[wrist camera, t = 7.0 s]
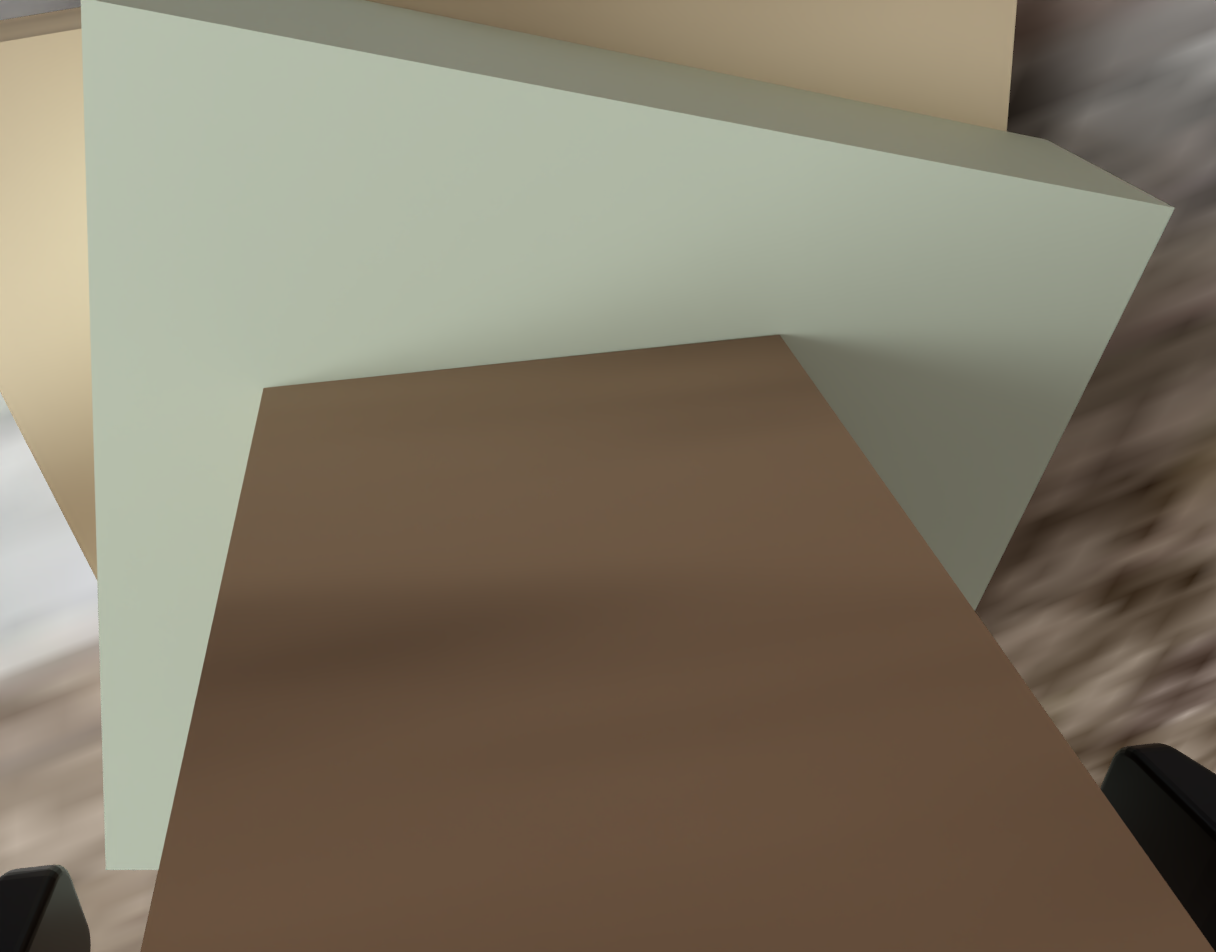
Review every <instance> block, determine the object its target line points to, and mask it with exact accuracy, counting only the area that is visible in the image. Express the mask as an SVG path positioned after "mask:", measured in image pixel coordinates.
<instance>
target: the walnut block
mask: <svg viewBox="0 0 1216 952" xmlns="http://www.w3.org/2000/svg"><path fill="white" fill-rule="evenodd" d="M141 952H1215V951H1214V949H1213V948H1212V947H1211V945H1210V944H1209V942H1208V941H1207V939H1206V938H1205V937H1204V935H1203V934H1202V932H1201V931H1200V930H1199V928H1198V927H1197V925H1196V924H1195V922H1194V921H1193V920H1192V918H1191V917H1190V915H1189V914H1188V913H1187V911H1186V910H1185V908H1184V907H1183V905H1182V904H1181V903H1180V901H1179V900H1178V898H1177V897H1176V896H1175V894H1174V893H1173V891H1172V890H1171V888H1170V887H1169V886H1168V884H1167V883H1166V881H1165V880H1164V879H1163V877H1162V876H1161V874H1160V873H1159V871H1158V870H1157V869H1156V867H1155V866H1154V864H1153V863H1152V862H1151V860H1150V859H1149V857H1148V856H1147V854H1146V853H1145V852H1144V850H1143V849H1142V847H1141V846H1140V845H1139V843H1138V842H1137V840H1136V839H1135V837H1134V836H1133V835H1132V833H1131V832H1130V830H1129V829H1128V828H1127V826H1126V825H1125V823H1124V822H1123V820H1122V819H1121V818H1120V816H1119V815H1118V813H1117V812H1116V811H1115V809H1114V808H1113V806H1112V805H1111V803H1110V802H1109V801H1108V799H1107V798H1106V796H1105V795H1104V794H1103V792H1102V791H1101V789H1100V788H1099V786H1098V785H1097V784H1096V782H1095V781H1094V779H1093V778H1092V777H1091V775H1090V774H1089V772H1088V771H1087V769H1086V768H1085V767H1084V765H1083V764H1082V762H1081V761H1080V760H1079V758H1078V757H1077V755H1076V754H1075V752H1074V751H1073V750H1072V748H1071V747H1070V745H1069V744H1068V743H1067V741H1066V740H1065V738H1064V737H1063V735H1062V734H1061V733H1060V731H1059V730H1058V728H1057V727H1056V726H1055V724H1054V723H1053V721H1052V720H1051V718H1050V717H1049V716H1048V714H1047V713H1046V711H1045V710H1044V709H1043V707H1042V706H1041V704H1040V703H1039V701H1038V700H1037V699H1036V697H1035V696H1034V694H1033V693H1032V692H1031V690H1030V689H1029V687H1028V686H1027V684H1026V683H1025V682H1024V680H1023V679H1022V677H1021V676H1020V674H1019V673H1018V672H1017V670H1016V669H1015V667H1014V666H1013V665H1012V663H1011V662H1010V660H1009V659H1008V657H1007V656H1006V655H1005V653H1004V652H1003V650H1002V649H1001V648H1000V646H999V645H998V643H997V642H996V640H995V639H994V638H993V636H992V635H991V633H990V632H989V631H988V629H987V628H986V626H985V625H984V623H983V622H982V621H981V619H980V618H979V616H978V615H977V614H976V612H975V611H974V609H973V608H972V606H971V605H970V604H969V602H968V601H967V599H966V598H965V597H964V595H963V594H962V592H961V591H960V589H959V588H958V587H957V585H956V584H955V582H954V581H953V580H952V578H951V577H950V575H949V574H948V572H947V571H946V570H945V568H944V567H943V565H942V564H941V563H940V561H939V560H938V558H937V557H936V555H935V554H934V553H933V551H932V550H931V548H930V547H929V546H928V544H927V543H926V541H925V540H924V538H923V537H922V536H921V534H920V533H919V531H918V530H917V529H916V527H915V526H914V524H913V523H912V521H911V520H910V519H909V517H908V516H907V514H906V513H905V512H904V510H903V509H902V507H901V506H900V504H899V503H898V502H897V500H896V499H895V497H894V496H893V495H892V493H891V492H890V490H889V489H888V487H887V486H886V485H885V483H884V482H883V480H882V479H881V478H880V476H879V475H878V473H877V472H876V470H875V469H874V468H873V466H872V465H871V463H870V462H869V461H868V459H867V458H866V456H865V455H864V453H863V452H862V451H861V449H860V448H859V446H858V445H857V444H856V442H855V441H854V439H853V438H852V436H851V435H850V434H849V432H848V431H847V429H846V428H845V427H844V425H843V424H842V422H841V421H840V419H839V418H838V417H837V415H836V414H835V412H834V411H833V410H832V408H831V407H830V405H829V404H828V402H827V401H826V400H825V398H824V397H823V395H822V394H821V393H820V391H819V390H818V388H817V387H816V385H815V384H814V383H813V381H812V380H811V378H810V377H809V375H808V374H807V373H806V371H805V370H804V368H803V367H802V366H801V364H800V363H799V361H798V360H797V358H796V357H795V356H794V354H793V353H792V351H791V350H790V349H789V347H788V346H787V344H786V343H785V341H784V340H783V339H782V337H781V336H780V335H771V336H762V337H752V338H742V339H732V340H723V341H713V342H703V343H694V344H684V345H674V346H665V347H655V348H645V349H636V350H626V351H616V352H607V353H597V354H587V355H578V356H568V357H558V358H549V359H539V360H529V361H520V362H510V363H500V364H491V365H481V366H471V367H462V368H452V369H442V370H432V371H423V372H413V373H403V374H394V375H384V376H374V377H365V378H355V379H345V380H336V381H326V382H316V383H307V384H297V385H287V386H278V387H268V388H263V393H262V397H261V402H260V406H259V411H258V415H257V420H256V425H255V429H254V434H253V438H252V443H251V448H250V452H249V457H248V461H247V466H246V470H245V475H244V480H243V484H242V489H241V493H240V498H239V503H238V507H237V512H236V516H235V521H234V525H233V530H232V535H231V539H230V544H229V548H228V553H227V558H226V562H225V567H224V571H223V576H222V581H221V585H220V590H219V594H218V599H217V603H216V608H215V613H214V617H213V622H212V626H211V631H210V636H209V640H208V645H207V649H206V654H205V658H204V663H203V668H202V672H201V677H200V681H199V686H198V691H197V695H196V700H195V704H194V709H193V713H192V718H191V723H190V727H189V732H188V736H187V741H186V746H185V750H184V755H183V759H182V764H181V769H180V773H179V778H178V782H177V787H176V791H175V796H174V801H173V805H172V810H171V814H170V819H169V824H168V828H167V833H166V837H165V842H164V846H163V851H162V856H161V860H160V865H159V869H158V874H157V879H156V883H155V888H154V892H153V897H152V901H151V906H150V911H149V915H148V920H147V924H146V929H145V934H144V938H143V943H142V947H141Z"/></svg>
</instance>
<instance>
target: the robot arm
mask: <svg viewBox="0 0 1216 952" xmlns="http://www.w3.org/2000/svg"><path fill="white" fill-rule="evenodd" d="M1100 789H1101V791H1102V792H1103V794H1104V795H1105V796H1106V798H1107V799H1108V801H1109V802H1110V803H1111V805H1112V806H1113V808H1114V809H1115V811H1116V812H1117V813H1118V815H1119V816H1120V818H1121V819H1122V820H1123V822H1124V823H1125V825H1126V826H1127V828H1128V829H1129V830H1130V832H1131V833H1132V835H1133V836H1134V837H1135V839H1136V840H1137V842H1138V843H1139V845H1140V846H1141V847H1142V849H1143V850H1144V852H1145V853H1146V854H1147V856H1148V857H1149V859H1150V860H1151V862H1152V863H1153V864H1154V866H1155V867H1156V869H1157V870H1158V871H1159V873H1160V874H1161V876H1162V877H1163V879H1164V880H1165V881H1166V883H1167V884H1168V886H1169V887H1170V888H1171V890H1172V891H1173V893H1174V894H1175V896H1176V897H1177V898H1178V900H1179V901H1180V903H1181V904H1182V905H1183V907H1184V908H1185V910H1186V911H1187V913H1188V914H1189V915H1190V917H1191V918H1192V920H1193V921H1194V922H1195V924H1196V925H1197V927H1198V928H1199V930H1200V931H1201V932H1202V934H1203V935H1204V937H1205V938H1206V939H1207V941H1208V942H1209V944H1210V945H1211V947H1212V948H1213V949H1214V951H1215V952H1216V774H1215V773H1213V772H1212V771H1210V770H1208V769H1207V768H1205V767H1204V766H1202V765H1200V764H1199V763H1197V762H1196V761H1194V760H1192V759H1191V758H1189V757H1188V756H1186V755H1184V754H1183V753H1181V752H1180V751H1178V750H1176V749H1174V748H1173V747H1171V746H1168V745H1166V744H1160V743H1153V744H1144V745H1135V746H1127V747H1123V748H1121V749H1120V750H1119V751H1117V753H1116V754H1115V756H1114V757H1113V759H1112V762H1111V764H1110V766H1109V769H1108V771H1107V774H1106V776H1105V778H1104V781H1103V783H1102V785H1101V788H1100ZM90 946H91V945H90V933H89V928H88V924H87V921H86V919H85V916H84V913H83V910H82V908H81V905H80V902H79V899H78V896H77V894H76V891H75V888H74V885H73V882H72V880H71V877H70V875H69V873H68V871H67V870H66V869H65V868H64V867H62V866H60V865H47V866H38V867H29V868H20V869H15V870H11V871H9V872H7V873H5V874H4V875H2V876H1V877H0V952H90Z"/></svg>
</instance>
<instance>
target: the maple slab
mask: <svg viewBox="0 0 1216 952" xmlns="http://www.w3.org/2000/svg"><path fill="white" fill-rule="evenodd" d="M366 1H371V2H376V3H381V4H386V5H391V6H396V7H401V8H405V9H410V10H415V11H420V12H425V13H430V14H435V15H440V16H445V17H449V18H454V19H459V20H464V21H469V22H474V23H479V24H484V25H489V26H493V27H498V28H503V29H508V30H513V31H518V32H523V33H528V34H533V35H537V36H542V37H547V38H552V39H557V40H562V41H567V42H572V43H577V44H581V45H586V46H591V47H596V48H601V49H606V50H611V51H616V52H621V53H626V54H630V55H635V56H640V57H645V58H650V59H655V60H660V61H665V62H670V63H674V64H679V65H684V66H689V67H694V68H699V69H704V70H709V71H714V72H718V73H723V74H728V75H733V76H738V77H743V78H748V79H753V80H757V81H762V82H767V83H772V84H777V85H782V86H787V87H792V88H797V89H801V90H806V91H811V92H816V93H821V94H826V95H831V96H836V97H840V98H845V99H850V100H855V101H860V102H865V103H870V104H875V105H879V106H884V107H889V108H894V109H899V110H904V111H909V112H914V113H919V114H923V115H928V116H933V117H938V118H943V119H948V120H953V121H958V122H962V123H967V124H972V125H977V126H982V127H987V128H992V129H997V130H1001V131H1006V132H1007V121H1008V108H1009V95H1010V83H1011V70H1012V58H1013V45H1014V32H1015V20H1016V7H1017V0H366ZM0 392H1V394H2V396H3V398H4V400H5V402H6V404H7V406H8V408H9V410H10V412H11V413H12V415H13V417H14V419H15V421H16V423H17V425H18V427H19V429H20V431H21V433H22V435H23V437H24V439H25V441H26V443H27V445H28V447H29V449H30V450H31V452H32V454H33V456H34V458H35V460H36V462H37V464H38V466H39V468H40V470H41V472H42V474H43V476H44V478H45V480H46V482H47V484H48V485H49V487H50V489H51V491H52V493H53V495H54V497H55V499H56V501H57V503H58V505H59V507H60V509H61V511H62V513H63V515H64V517H65V519H66V521H67V522H68V524H69V526H70V528H71V530H72V532H73V534H74V536H75V538H76V540H77V542H78V544H79V546H80V548H81V550H82V552H83V554H84V556H85V557H86V559H87V561H88V563H89V565H90V567H91V569H92V571H93V573H94V575H95V577H96V579H97V547H96V512H95V477H94V443H93V408H92V373H91V339H90V304H89V269H88V235H87V200H86V166H85V131H84V96H83V62H82V27H81V7H78V8H72V9H66V10H60V11H54V12H48V13H42V14H36V15H30V16H24V17H18V18H12V19H6V20H0Z"/></svg>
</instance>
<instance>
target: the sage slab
mask: <svg viewBox="0 0 1216 952" xmlns="http://www.w3.org/2000/svg"><path fill="white" fill-rule="evenodd" d="M81 27H82V62H83V96H84V131H85V166H86V200H87V235H88V269H89V304H90V339H91V373H92V408H93V443H94V477H95V512H96V547H97V581H98V616H99V651H100V685H101V720H102V755H103V789H104V824H105V859H106V870H158V869H159V865H160V860H161V856H162V851H163V846H164V842H165V837H166V833H167V828H168V824H169V819H170V814H171V810H172V805H173V801H174V796H175V791H176V787H177V782H178V778H179V773H180V769H181V764H182V759H183V755H184V750H185V746H186V741H187V736H188V732H189V727H190V723H191V718H192V713H193V709H194V704H195V700H196V695H197V691H198V686H199V681H200V677H201V672H202V668H203V663H204V658H205V654H206V649H207V645H208V640H209V636H210V631H211V626H212V622H213V617H214V613H215V608H216V603H217V599H218V594H219V590H220V585H221V581H222V576H223V571H224V567H225V562H226V558H227V553H228V548H229V544H230V539H231V535H232V530H233V525H234V521H235V516H236V512H237V507H238V503H239V498H240V493H241V489H242V484H243V480H244V475H245V470H246V466H247V461H248V457H249V452H250V448H251V443H252V438H253V434H254V429H255V425H256V420H257V415H258V411H259V406H260V402H261V397H262V393H263V388H268V387H278V386H287V385H297V384H307V383H316V382H326V381H336V380H345V379H355V378H365V377H374V376H384V375H394V374H403V373H413V372H423V371H432V370H442V369H452V368H462V367H471V366H481V365H491V364H500V363H510V362H520V361H529V360H539V359H549V358H558V357H568V356H578V355H587V354H597V353H607V352H616V351H626V350H636V349H645V348H655V347H665V346H674V345H684V344H694V343H703V342H713V341H723V340H732V339H742V338H752V337H762V336H771V335H780V336H781V337H782V339H783V340H784V341H785V343H786V344H787V346H788V347H789V349H790V350H791V351H792V353H793V354H794V356H795V357H796V358H797V360H798V361H799V363H800V364H801V366H802V367H803V368H804V370H805V371H806V373H807V374H808V375H809V377H810V378H811V380H812V381H813V383H814V384H815V385H816V387H817V388H818V390H819V391H820V393H821V394H822V395H823V397H824V398H825V400H826V401H827V402H828V404H829V405H830V407H831V408H832V410H833V411H834V412H835V414H836V415H837V417H838V418H839V419H840V421H841V422H842V424H843V425H844V427H845V428H846V429H847V431H848V432H849V434H850V435H851V436H852V438H853V439H854V441H855V442H856V444H857V445H858V446H859V448H860V449H861V451H862V452H863V453H864V455H865V456H866V458H867V459H868V461H869V462H870V463H871V465H872V466H873V468H874V469H875V470H876V472H877V473H878V475H879V476H880V478H881V479H882V480H883V482H884V483H885V485H886V486H887V487H888V489H889V490H890V492H891V493H892V495H893V496H894V497H895V499H896V500H897V502H898V503H899V504H900V506H901V507H902V509H903V510H904V512H905V513H906V514H907V516H908V517H909V519H910V520H911V521H912V523H913V524H914V526H915V527H916V529H917V530H918V531H919V533H920V534H921V536H922V537H923V538H924V540H925V541H926V543H927V544H928V546H929V547H930V548H931V550H932V551H933V553H934V554H935V555H936V557H937V558H938V560H939V561H940V563H941V564H942V565H943V567H944V568H945V570H946V571H947V572H948V574H949V575H950V577H951V578H952V580H953V581H954V582H955V584H956V585H957V587H958V588H959V589H960V591H961V592H962V594H963V595H964V597H965V598H966V599H967V601H968V602H969V604H970V605H971V606H972V608H973V609H974V611H975V610H976V608H977V606H978V604H979V602H980V600H981V598H982V596H983V594H984V592H985V589H986V587H987V585H988V583H989V581H990V579H991V577H992V575H993V573H994V571H995V569H996V567H997V565H998V563H999V561H1000V559H1001V557H1002V555H1003V553H1004V551H1005V549H1006V547H1007V545H1008V543H1009V541H1010V539H1011V537H1012V535H1013V533H1014V531H1015V529H1016V527H1017V525H1018V523H1019V521H1020V519H1021V517H1022V515H1023V513H1024V511H1025V509H1026V507H1027V505H1028V503H1029V501H1030V499H1031V497H1032V495H1033V493H1034V491H1035V489H1036V487H1037V485H1038V483H1039V481H1040V479H1041V477H1042V475H1043V473H1044V471H1045V469H1046V467H1047V465H1048V463H1049V461H1050V459H1051V457H1052V455H1053V453H1054V450H1055V448H1056V446H1057V444H1058V442H1059V440H1060V438H1061V436H1062V434H1063V432H1064V430H1065V428H1066V426H1067V424H1068V422H1069V420H1070V418H1071V416H1072V414H1073V412H1074V410H1075V408H1076V406H1077V404H1078V402H1079V400H1080V398H1081V396H1082V394H1083V392H1084V390H1085V388H1086V386H1087V384H1088V382H1089V380H1090V378H1091V376H1092V374H1093V372H1094V370H1095V368H1096V366H1097V364H1098V362H1099V360H1100V358H1101V356H1102V354H1103V352H1104V350H1105V348H1106V346H1107V344H1108V342H1109V340H1110V338H1111V336H1112V334H1113V332H1114V330H1115V328H1116V326H1117V324H1118V322H1119V320H1120V318H1121V316H1122V314H1123V311H1124V309H1125V307H1126V305H1127V303H1128V301H1129V299H1130V297H1131V295H1132V293H1133V291H1134V289H1135V287H1136V285H1137V283H1138V281H1139V279H1140V277H1141V275H1142V273H1143V271H1144V269H1145V267H1146V265H1147V263H1148V261H1149V259H1150V257H1151V255H1152V253H1153V251H1154V249H1155V247H1156V245H1157V243H1158V241H1159V239H1160V237H1161V235H1162V233H1163V231H1164V229H1165V227H1166V225H1167V223H1168V221H1169V219H1170V217H1171V215H1172V213H1173V211H1174V209H1175V208H1174V207H1172V206H1170V205H1169V204H1167V203H1165V202H1163V201H1161V200H1159V199H1157V198H1155V197H1154V196H1152V195H1150V194H1148V193H1146V192H1144V191H1142V190H1140V189H1138V188H1137V187H1135V186H1133V185H1131V184H1129V183H1127V182H1125V181H1123V180H1122V179H1120V178H1118V177H1116V176H1114V175H1112V174H1110V173H1108V172H1107V171H1105V170H1103V169H1101V168H1099V167H1097V166H1095V165H1093V164H1091V163H1090V162H1088V161H1086V160H1084V159H1082V158H1080V157H1078V156H1076V155H1075V154H1073V153H1071V152H1069V151H1067V150H1065V149H1063V148H1061V147H1060V146H1058V145H1056V144H1054V143H1052V142H1050V141H1048V140H1046V139H1041V138H1036V137H1031V136H1027V135H1022V134H1017V133H1012V132H1006V131H1001V130H997V129H992V128H987V127H982V126H977V125H972V124H967V123H962V122H958V121H953V120H948V119H943V118H938V117H933V116H928V115H923V114H919V113H914V112H909V111H904V110H899V109H894V108H889V107H884V106H879V105H875V104H870V103H865V102H860V101H855V100H850V99H845V98H840V97H836V96H831V95H826V94H821V93H816V92H811V91H806V90H801V89H797V88H792V87H787V86H782V85H777V84H772V83H767V82H762V81H757V80H753V79H748V78H743V77H738V76H733V75H728V74H723V73H718V72H714V71H709V70H704V69H699V68H694V67H689V66H684V65H679V64H674V63H670V62H665V61H660V60H655V59H650V58H645V57H640V56H635V55H630V54H626V53H621V52H616V51H611V50H606V49H601V48H596V47H591V46H586V45H581V44H577V43H572V42H567V41H562V40H557V39H552V38H547V37H542V36H537V35H533V34H528V33H523V32H518V31H513V30H508V29H503V28H498V27H493V26H489V25H484V24H479V23H474V22H469V21H464V20H459V19H454V18H449V17H445V16H440V15H435V14H430V13H425V12H420V11H415V10H410V9H405V8H401V7H396V6H391V5H386V4H381V3H376V2H371V1H366V0H81Z"/></svg>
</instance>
